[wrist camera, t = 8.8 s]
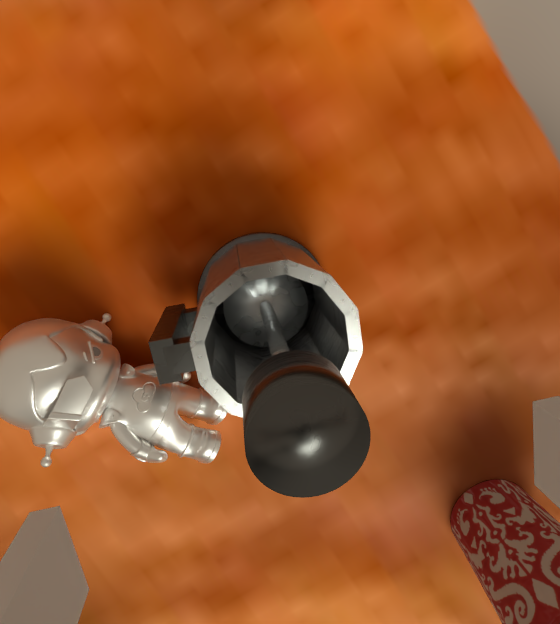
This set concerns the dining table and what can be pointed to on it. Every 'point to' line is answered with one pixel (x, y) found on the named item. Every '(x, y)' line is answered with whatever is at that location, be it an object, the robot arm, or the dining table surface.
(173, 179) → the dining table surface
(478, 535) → the mug
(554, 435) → the robot arm
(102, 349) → the figurine
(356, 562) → the dining table surface
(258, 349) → the grey coffee mug
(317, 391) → the plunger
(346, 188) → the dining table surface
